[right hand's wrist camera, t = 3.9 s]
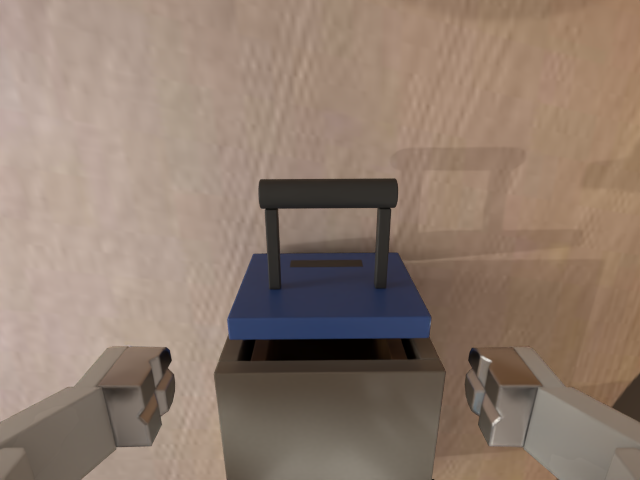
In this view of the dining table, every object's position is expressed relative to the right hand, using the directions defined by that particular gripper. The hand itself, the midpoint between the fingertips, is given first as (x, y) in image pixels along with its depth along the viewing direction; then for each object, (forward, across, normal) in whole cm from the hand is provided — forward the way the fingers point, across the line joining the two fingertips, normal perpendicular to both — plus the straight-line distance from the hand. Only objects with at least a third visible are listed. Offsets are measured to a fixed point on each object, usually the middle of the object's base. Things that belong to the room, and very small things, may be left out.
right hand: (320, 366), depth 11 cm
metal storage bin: (+16, 0, -14) cm, 21 cm away
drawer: (+15, 0, -8) cm, 17 cm away
